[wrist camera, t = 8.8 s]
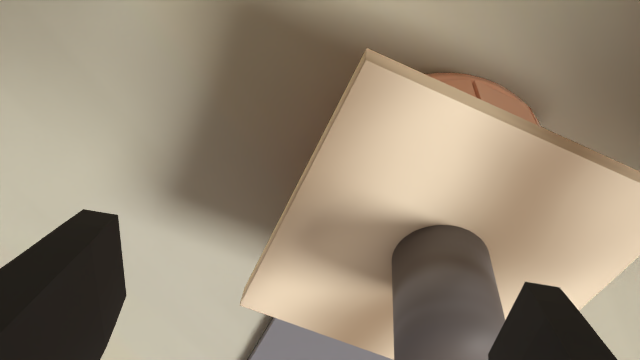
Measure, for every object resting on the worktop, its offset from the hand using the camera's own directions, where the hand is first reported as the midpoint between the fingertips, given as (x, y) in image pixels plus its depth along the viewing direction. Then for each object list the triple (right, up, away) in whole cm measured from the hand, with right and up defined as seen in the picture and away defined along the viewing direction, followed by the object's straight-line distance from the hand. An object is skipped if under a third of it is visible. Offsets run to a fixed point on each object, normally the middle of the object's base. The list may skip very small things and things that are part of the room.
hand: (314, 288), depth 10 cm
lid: (+4, 0, +8) cm, 9 cm away
